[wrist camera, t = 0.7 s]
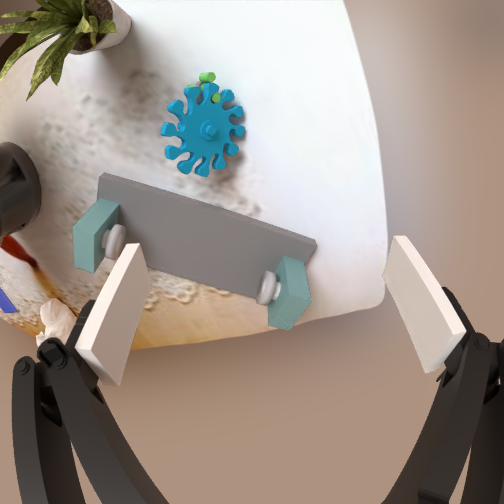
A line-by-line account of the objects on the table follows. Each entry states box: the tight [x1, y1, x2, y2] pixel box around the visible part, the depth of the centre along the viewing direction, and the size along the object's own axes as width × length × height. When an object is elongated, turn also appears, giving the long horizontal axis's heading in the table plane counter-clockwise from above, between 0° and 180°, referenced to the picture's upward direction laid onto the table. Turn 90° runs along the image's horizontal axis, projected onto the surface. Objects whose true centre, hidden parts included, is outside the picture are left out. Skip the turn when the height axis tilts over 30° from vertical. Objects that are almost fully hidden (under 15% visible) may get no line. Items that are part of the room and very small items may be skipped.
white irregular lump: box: [36, 298, 77, 347], centre depth 46 cm, size 12×8×11 cm
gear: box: [160, 72, 245, 177], centre depth 27 cm, size 11×6×10 cm
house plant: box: [0, 0, 131, 101], centre depth 14 cm, size 14×14×16 cm
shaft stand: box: [73, 173, 317, 330], centre depth 35 cm, size 31×12×9 cm, turn 69°
